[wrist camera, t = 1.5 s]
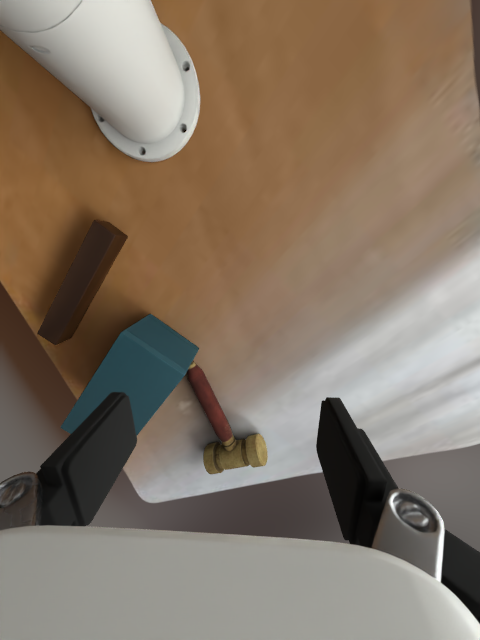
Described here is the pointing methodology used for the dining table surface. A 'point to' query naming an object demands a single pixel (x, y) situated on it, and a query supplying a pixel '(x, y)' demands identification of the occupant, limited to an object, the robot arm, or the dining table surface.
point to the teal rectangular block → (137, 371)
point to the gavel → (224, 432)
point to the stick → (82, 281)
